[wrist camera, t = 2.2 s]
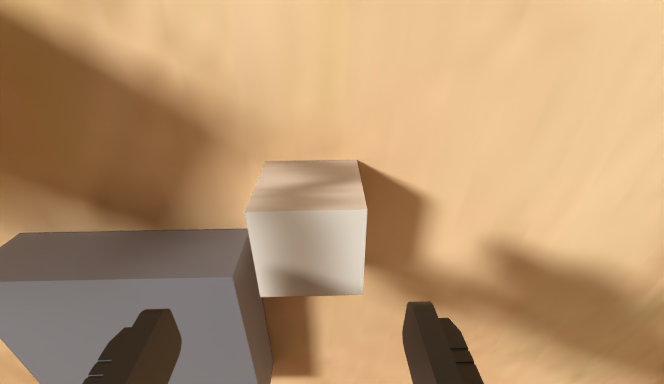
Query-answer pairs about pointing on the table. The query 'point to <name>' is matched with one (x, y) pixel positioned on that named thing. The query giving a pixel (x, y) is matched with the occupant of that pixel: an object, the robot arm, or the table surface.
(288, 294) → the ash cube
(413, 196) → the table surface
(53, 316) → the block
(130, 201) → the table surface
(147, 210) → the table surface
